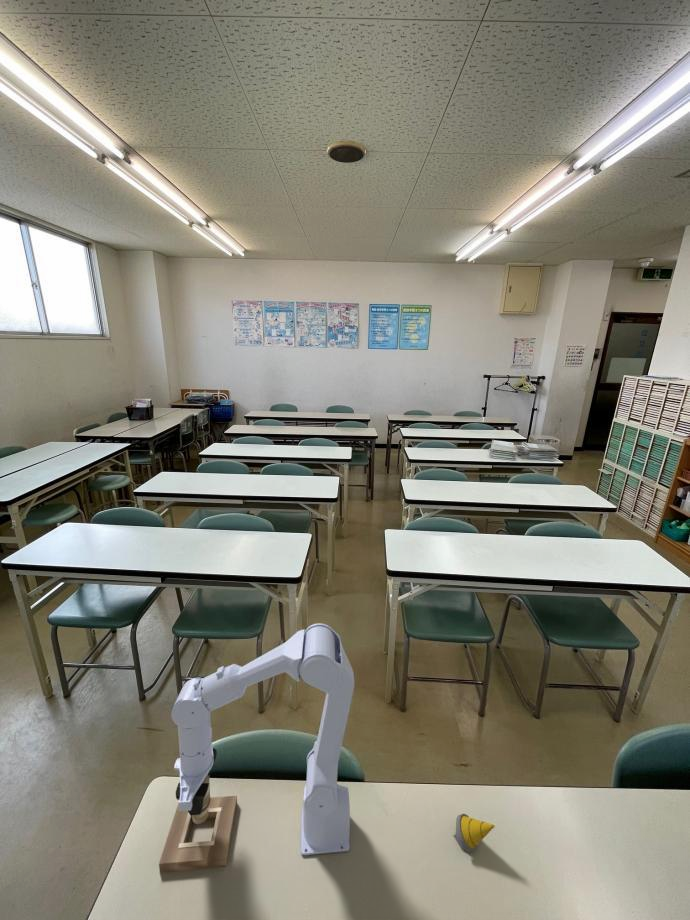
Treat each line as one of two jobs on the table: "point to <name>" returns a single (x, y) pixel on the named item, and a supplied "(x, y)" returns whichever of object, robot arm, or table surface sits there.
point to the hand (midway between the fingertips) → (199, 800)
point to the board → (200, 853)
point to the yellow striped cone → (470, 832)
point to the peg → (204, 814)
